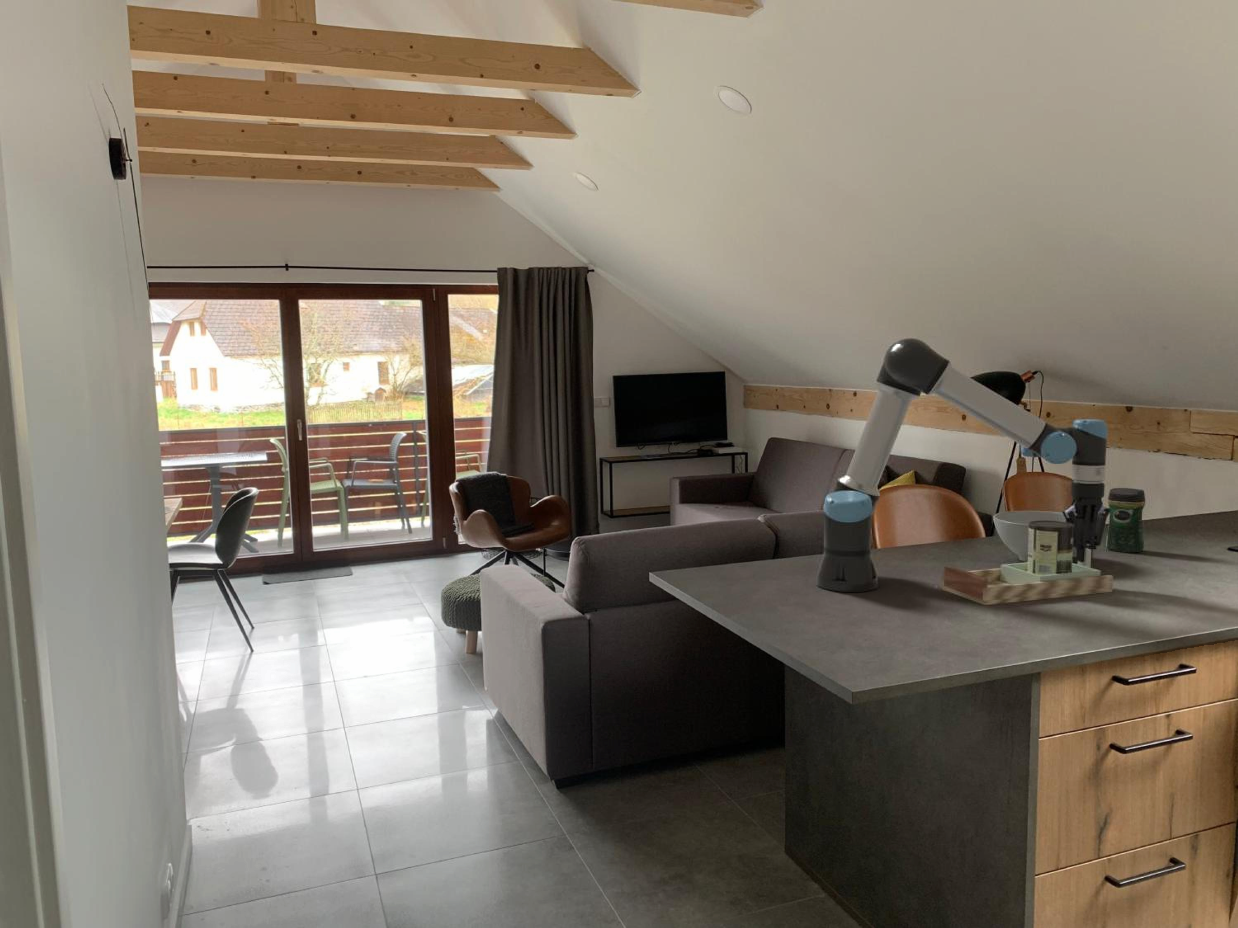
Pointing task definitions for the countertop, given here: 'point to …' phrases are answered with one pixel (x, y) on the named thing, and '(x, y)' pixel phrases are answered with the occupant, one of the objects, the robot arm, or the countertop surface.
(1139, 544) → the coffee jar
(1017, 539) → the decorative bowl
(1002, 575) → the mint green tray
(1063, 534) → the coffee can
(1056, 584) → the bay
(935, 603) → the countertop surface
